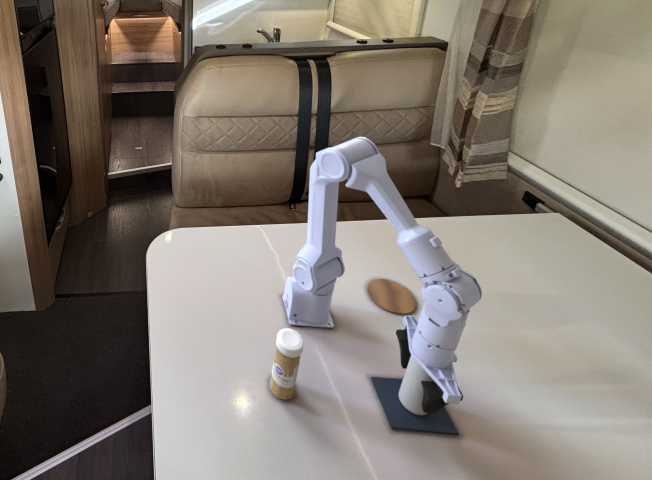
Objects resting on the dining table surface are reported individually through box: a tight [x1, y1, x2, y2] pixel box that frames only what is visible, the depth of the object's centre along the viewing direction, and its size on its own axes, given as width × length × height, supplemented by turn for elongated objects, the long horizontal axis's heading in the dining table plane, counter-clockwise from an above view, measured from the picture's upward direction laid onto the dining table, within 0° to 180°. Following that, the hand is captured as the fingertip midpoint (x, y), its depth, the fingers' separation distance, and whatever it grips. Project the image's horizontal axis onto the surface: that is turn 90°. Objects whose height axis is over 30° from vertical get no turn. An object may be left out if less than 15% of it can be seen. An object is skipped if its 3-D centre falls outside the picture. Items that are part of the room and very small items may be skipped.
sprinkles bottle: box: [269, 327, 305, 401], centre depth 78 cm, size 5×5×14 cm
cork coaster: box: [366, 278, 417, 316], centre depth 100 cm, size 10×10×1 cm
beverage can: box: [399, 355, 435, 415], centre depth 75 cm, size 5×5×12 cm
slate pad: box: [370, 376, 460, 436], centre depth 77 cm, size 11×9×1 cm
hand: (417, 388), depth 76 cm, fingers open, 7 cm apart
